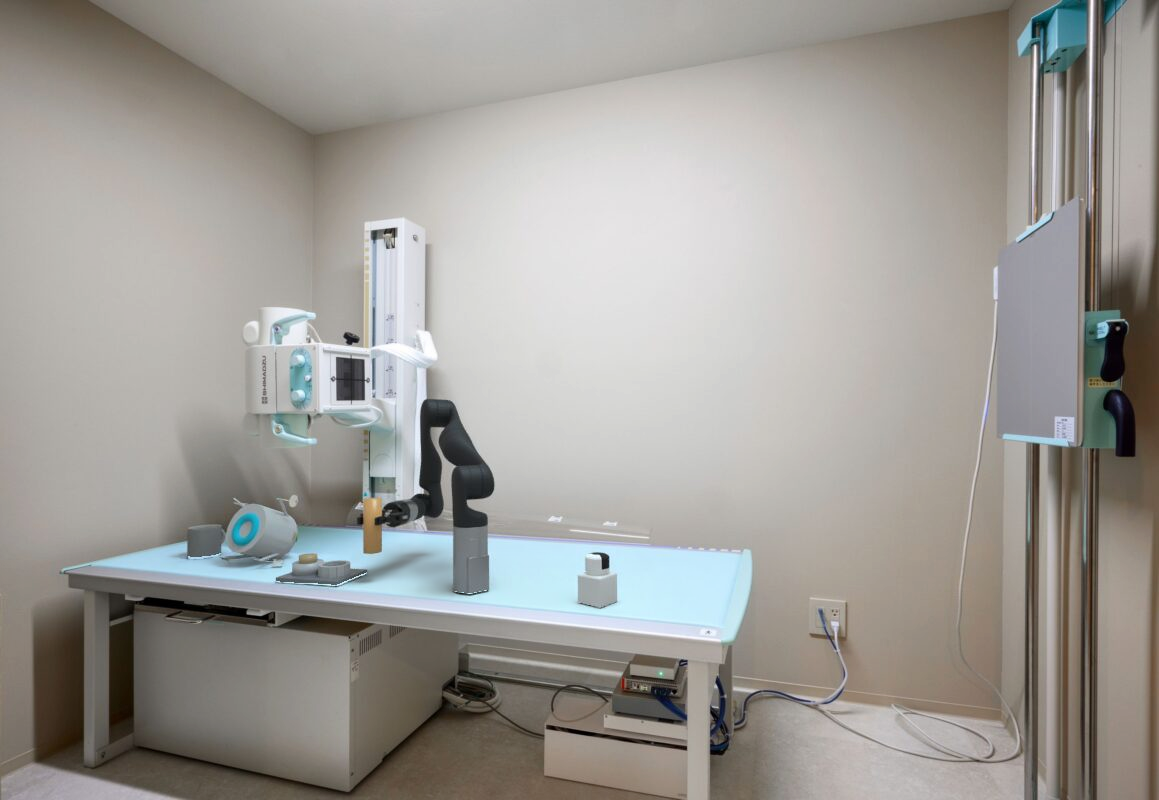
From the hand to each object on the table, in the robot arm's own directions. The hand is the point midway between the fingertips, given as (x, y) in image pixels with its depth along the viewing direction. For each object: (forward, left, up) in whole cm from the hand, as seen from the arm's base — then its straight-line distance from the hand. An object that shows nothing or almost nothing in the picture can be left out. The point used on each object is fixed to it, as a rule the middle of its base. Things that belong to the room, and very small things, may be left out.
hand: (367, 521), depth 167 cm
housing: (+15, +7, -18) cm, 24 cm away
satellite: (+52, +16, -18) cm, 57 cm away
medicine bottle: (-55, -37, -18) cm, 69 cm away
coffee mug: (+75, +27, -18) cm, 81 cm away
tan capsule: (+1, -2, -9) cm, 9 cm away
